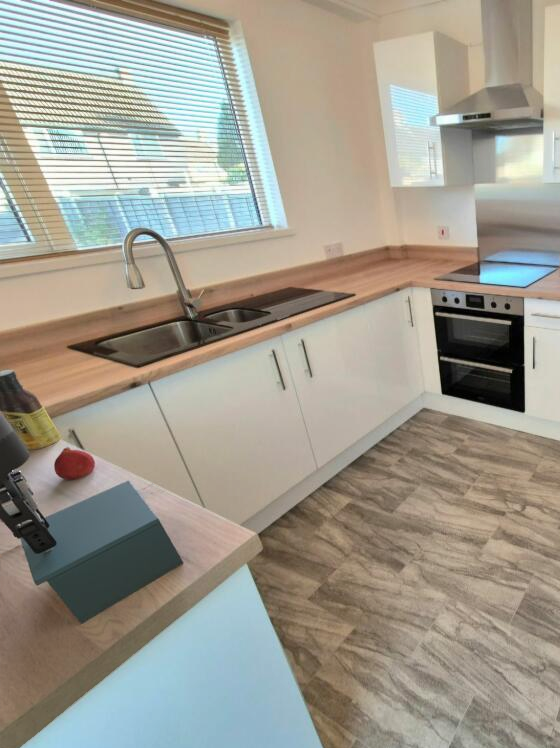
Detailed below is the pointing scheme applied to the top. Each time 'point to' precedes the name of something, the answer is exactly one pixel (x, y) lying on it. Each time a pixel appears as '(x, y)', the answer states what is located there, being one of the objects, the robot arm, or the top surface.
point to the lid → (90, 530)
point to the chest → (116, 572)
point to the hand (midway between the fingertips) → (43, 539)
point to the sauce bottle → (25, 413)
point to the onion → (73, 464)
